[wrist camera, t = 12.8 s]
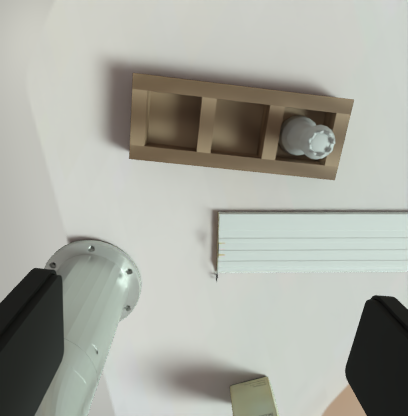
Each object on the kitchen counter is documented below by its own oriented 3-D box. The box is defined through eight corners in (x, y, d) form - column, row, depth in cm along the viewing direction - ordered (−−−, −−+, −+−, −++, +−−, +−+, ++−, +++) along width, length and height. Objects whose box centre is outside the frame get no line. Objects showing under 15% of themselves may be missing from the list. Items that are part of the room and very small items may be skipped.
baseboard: (430, 277, 46) (447, 209, 43) (445, 288, 43) (464, 217, 40) (215, 279, 45) (217, 209, 42) (216, 290, 42) (219, 217, 39)
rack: (322, 173, 40) (334, 180, 37) (134, 153, 38) (129, 158, 35) (339, 99, 37) (354, 99, 34) (138, 75, 36) (132, 72, 32)
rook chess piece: (298, 106, 37) (326, 107, 29) (322, 135, 38) (355, 144, 30) (268, 134, 38) (288, 143, 30) (292, 162, 39) (317, 177, 31)
